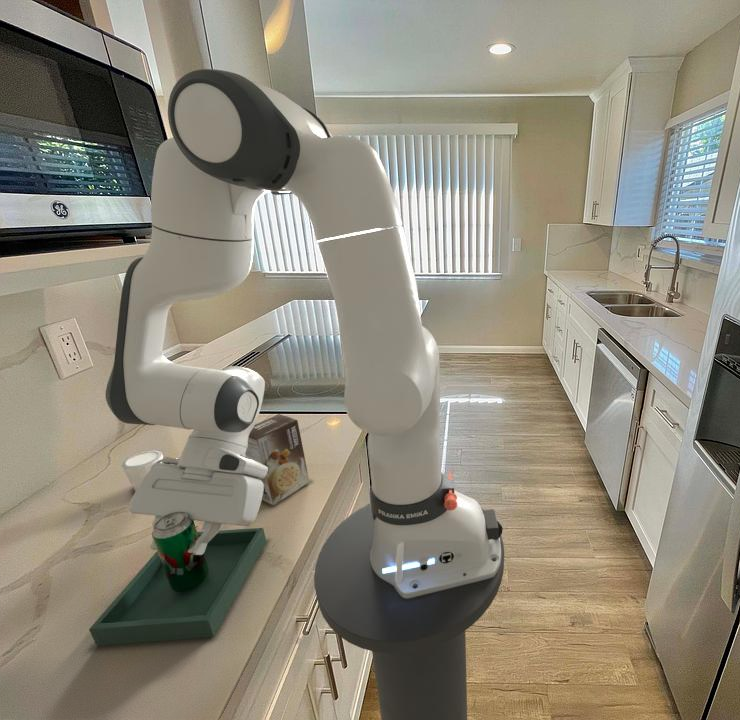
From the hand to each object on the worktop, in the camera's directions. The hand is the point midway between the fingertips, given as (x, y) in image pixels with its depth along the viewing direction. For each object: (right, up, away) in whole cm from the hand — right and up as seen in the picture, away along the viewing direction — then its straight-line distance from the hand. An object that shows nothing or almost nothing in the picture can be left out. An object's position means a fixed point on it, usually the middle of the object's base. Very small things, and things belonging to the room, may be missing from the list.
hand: (176, 552), depth 60 cm
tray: (0, -7, +3) cm, 8 cm away
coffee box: (+3, +1, +26) cm, 26 cm away
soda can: (0, -6, +3) cm, 7 cm away
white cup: (-27, +1, +28) cm, 39 cm away
